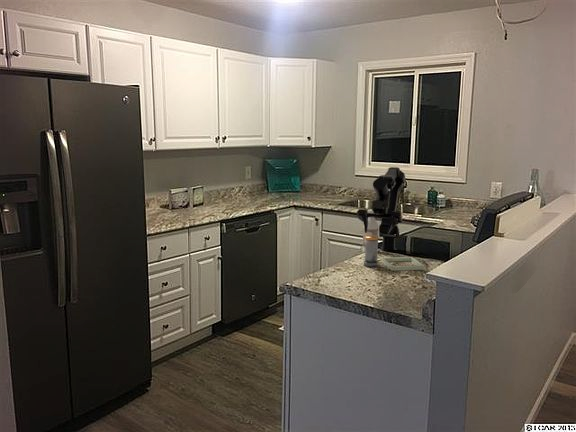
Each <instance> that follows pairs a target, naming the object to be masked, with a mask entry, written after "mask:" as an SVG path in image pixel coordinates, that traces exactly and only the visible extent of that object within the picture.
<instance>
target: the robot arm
mask: <svg viewBox="0 0 576 432" xmlns="http://www.w3.org/2000/svg"><path fill="white" fill-rule="evenodd" d="M405 184H406V175H405V172H403V171H402V170H401V169H400V167H395V166H394V167H393V166H391V167H388V168H387V171H386V172H385V174H381V175H379V176H378V178H376V179H375V180H373V182H372V187H373V190H374V193H375V196H376V197H375V200H372V201H371V210H372V211H374V212H373V213H368V209H366V208H359V209H358V210H357V211H356V216H357V218H358V220H360V221H361V222H363V226H364V228H365V233H367V228H368V217H374V218H375V219H376V218H378V219H381V220H380V224H378V237H379V238H382V246H380V247H379V248H380V250H383V251H384V252H387V251H389V252H390V251H393V252H394V251H397V250H398V249H397V248H396V247H395V246H396V245H395V244H396V239H400V229H399V224H401V223H402V222H403V215H402V212H401V211H400V210H399V211H398V210H397V206H398V201H399V195H400V192H401V191H402V190H403V189H404V185H405Z"/></svg>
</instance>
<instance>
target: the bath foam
mask: <svg viewBox="0 0 576 432" xmlns="http://www.w3.org/2000/svg"><path fill="white" fill-rule="evenodd" d="M367 211H368V213H373V212H374V211H372V209H367ZM362 226H363V229H362V251H363V253H365V245H366V239H365V236H367V235H375V236H378V237H379V224H378V221H377V220H376V217H368V228H367V233H365V228H364V225H362Z"/></svg>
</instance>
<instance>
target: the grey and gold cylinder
mask: <svg viewBox="0 0 576 432" xmlns="http://www.w3.org/2000/svg"><path fill="white" fill-rule="evenodd" d="M379 238H380V237H379V235H378V236H375V235H367V236H365V239H366V245H365V252H364V253H365V254H364V255H365V256H364V261H363V265H364V266H363V267H365V266H366V267H365V268H368V267H376V268H378V265H379V261H378V251H379V250H378V247H379Z"/></svg>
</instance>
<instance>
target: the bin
mask: <svg viewBox="0 0 576 432" xmlns="http://www.w3.org/2000/svg"><path fill="white" fill-rule="evenodd" d="M380 260H381V261H380V262H382V263H383V264H384V265H385V267H386V268H388V269H389V270H390V271H419V270H421V271H422V270H423V271H424V270H425V265H424V264H423V263H421V262H420V261H419V260H417V259H415V258H414V257H412V256H400V257H399V256H396V257H381V258H380ZM390 262H391V263H392V262H411V263H413V264H414V265H392V264H391V263H390Z"/></svg>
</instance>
